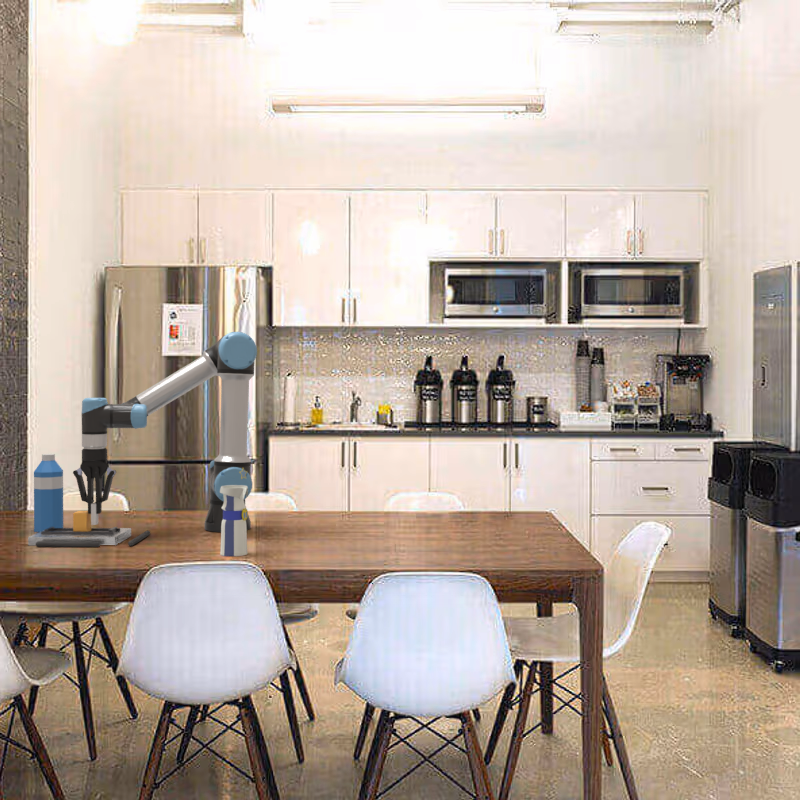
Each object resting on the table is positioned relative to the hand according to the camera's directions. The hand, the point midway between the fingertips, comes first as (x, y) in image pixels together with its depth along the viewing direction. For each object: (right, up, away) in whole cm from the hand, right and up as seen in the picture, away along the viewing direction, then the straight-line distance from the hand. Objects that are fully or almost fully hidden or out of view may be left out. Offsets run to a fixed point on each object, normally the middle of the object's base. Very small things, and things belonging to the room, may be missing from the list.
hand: (94, 524), depth 311 cm
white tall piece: (+47, -6, -22) cm, 52 cm away
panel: (-4, -5, 0) cm, 7 cm away
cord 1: (-4, -5, -11) cm, 13 cm away
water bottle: (-21, -5, +20) cm, 30 cm away
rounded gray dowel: (+14, -5, 0) cm, 15 cm away
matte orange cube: (-4, -2, 0) cm, 4 cm away
